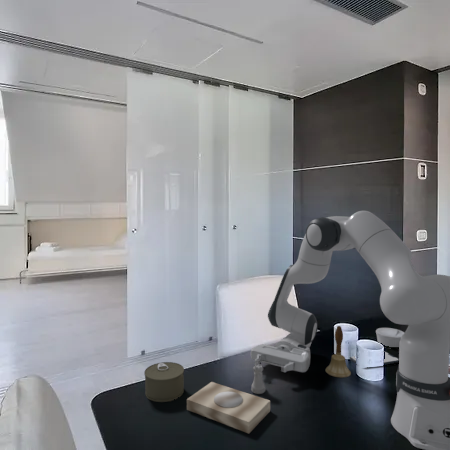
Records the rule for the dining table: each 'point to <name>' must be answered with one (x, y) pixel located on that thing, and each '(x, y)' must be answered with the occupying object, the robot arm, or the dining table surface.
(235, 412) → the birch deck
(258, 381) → the rook chess piece
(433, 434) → the robot arm
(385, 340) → the ramekin
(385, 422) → the dining table surface
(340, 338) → the hand bell
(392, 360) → the phone case
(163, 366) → the can
